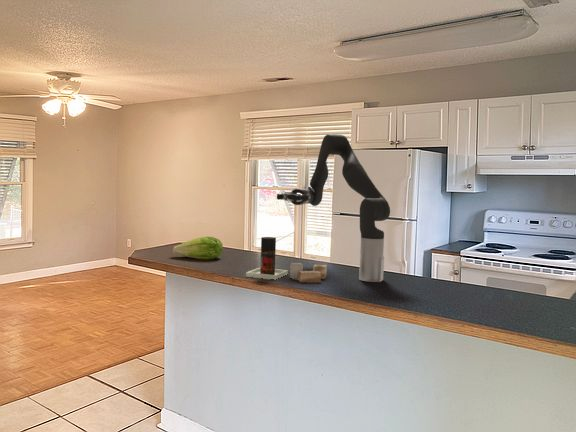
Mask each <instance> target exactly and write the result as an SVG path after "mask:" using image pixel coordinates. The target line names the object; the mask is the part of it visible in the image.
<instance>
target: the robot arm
mask: <svg viewBox="0 0 576 432" xmlns="http://www.w3.org/2000/svg"><path fill="white" fill-rule="evenodd" d="M320 145H321V146H320V150H319V152H318V156H317V157H318V158H317V161H316V165H315V168H314V172H313V174H312V177H311V179H310V181H309V185H310V186H309V185H307V186H305V187H304V188H294V189H292V190H291V191H290V192H284V193H276V200H277V201H279V200H281V201H283V200H284V201H285V202H286V201H287V202H288V201H289V202H291V203H292V205H295V206H302V205H306V204H310V205H311V206H312V207H317V206H318V205H320V204H321V202H322V201H323V200H322V199H323V195H324V187H325V185H326V183H327V180H328V177H329V170H328V169H329V168H328V164H327V160H328V158H329V156H330V155H333V156H336V155H337V156H340V157H341V159H342V160H343V165H342V169H341V170H342V173H341V174H342V176H343V179H344V180H345V182H346V184H347V185H348V186H349V187H350V188H351V190H353V191H354V192H356V193H357V194H359V195H361V196H362V198H364V199H363V200H361V203H360V205H359V232H360V247H359V248H360V250H359V251H360V252H359V271H358V273H359V274H358V280H359V281H362V282H367V283H382V281H383V280H384V269H385V265H384V264H385V257H384V248H385V246H384V245H385V242H384V241H385V232H384V230H381V229H379V228H377V226H376V222H383V221H386V220H388V219H389V218H390V215H391V208H390V205H389V202H388V201H387V199H386V198H385V197H384V196H383V194H382V193H381V192H380V191H379V190H378V188H377V187H376V185H375V184H374V183H373V181H372V180H371V178H370V176H369V175H368V174H367V172H366V170H365V168H364V167H363V165H362V163H360V161H359V159H358V157H357V156H356V154H355V151H354V150H353V148H352V146H351V143H350V141H349V140H348V137H346V135H343V134H339V133H338V134H337V133H335V134H334V133H328V134H325V135H324V136H323V138H322V141H321V144H320Z"/></svg>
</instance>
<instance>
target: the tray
mask: <svg viewBox="0 0 576 432" xmlns="http://www.w3.org/2000/svg"><path fill="white" fill-rule="evenodd" d="M287 274H288V275H289V270H288V269H276V268H275V275H269V274H260V267H257V268H254V269H252V270H249V271H246V273H245V277H246V278H252V277H253V278H254V279H261V278H263V280H270V279H274V280H273V281H277V280H279V279H282V278H283V276H284V277H286V276H288V275H287ZM285 275H286V276H285ZM281 277H282V278H281ZM278 278H279V279H278ZM276 279H277V280H276Z"/></svg>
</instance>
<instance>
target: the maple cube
mask: <svg viewBox="0 0 576 432" xmlns="http://www.w3.org/2000/svg"><path fill="white" fill-rule="evenodd" d="M312 266H313V267H312V271H319V272H321V279H323V280H326V279H327V271H328V269H327V268H328V265H327V264H319V263H318V264H316V263H315V264H314V265H312Z"/></svg>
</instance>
